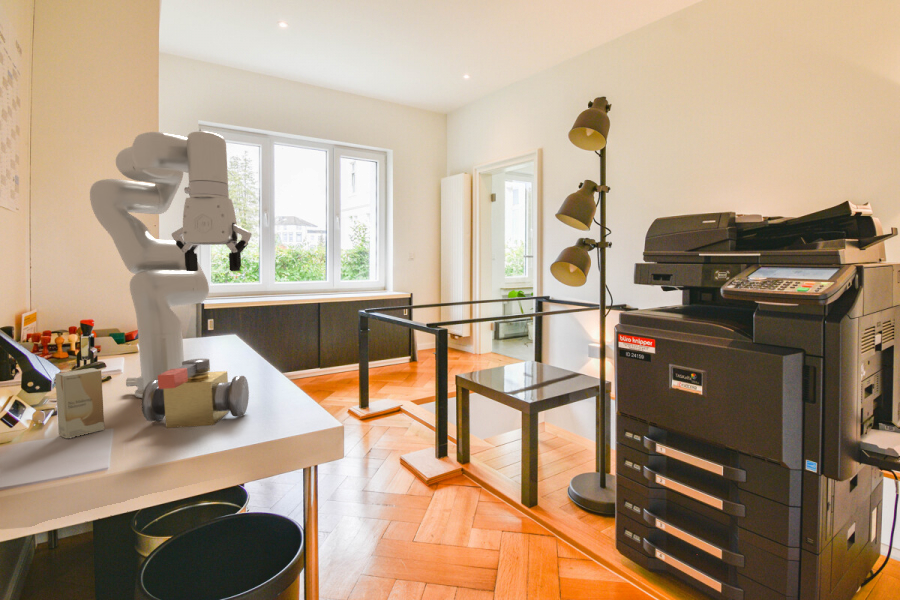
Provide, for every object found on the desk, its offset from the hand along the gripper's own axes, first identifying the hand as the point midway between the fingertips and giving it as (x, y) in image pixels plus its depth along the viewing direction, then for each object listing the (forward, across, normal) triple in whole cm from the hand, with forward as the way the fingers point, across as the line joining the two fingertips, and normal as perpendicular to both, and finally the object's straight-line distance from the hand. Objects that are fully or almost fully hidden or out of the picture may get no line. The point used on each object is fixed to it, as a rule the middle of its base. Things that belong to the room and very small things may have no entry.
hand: (213, 271), depth 99 cm
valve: (+31, -1, -7) cm, 32 cm away
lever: (+21, 0, -12) cm, 24 cm away
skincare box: (+32, -20, -14) cm, 40 cm away
